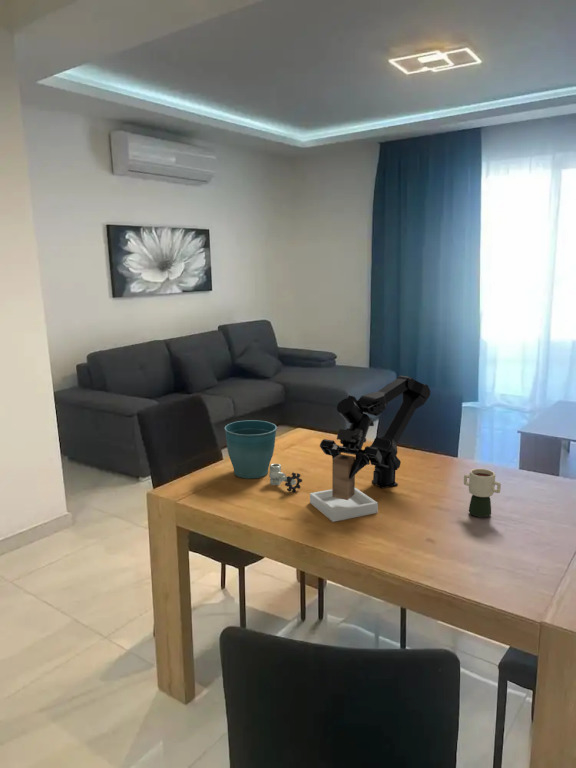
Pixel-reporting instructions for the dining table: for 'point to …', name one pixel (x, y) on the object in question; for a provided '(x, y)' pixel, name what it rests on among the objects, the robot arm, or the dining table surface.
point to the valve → (283, 478)
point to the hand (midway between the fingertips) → (341, 476)
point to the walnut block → (343, 477)
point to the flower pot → (250, 447)
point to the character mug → (481, 491)
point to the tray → (343, 505)
